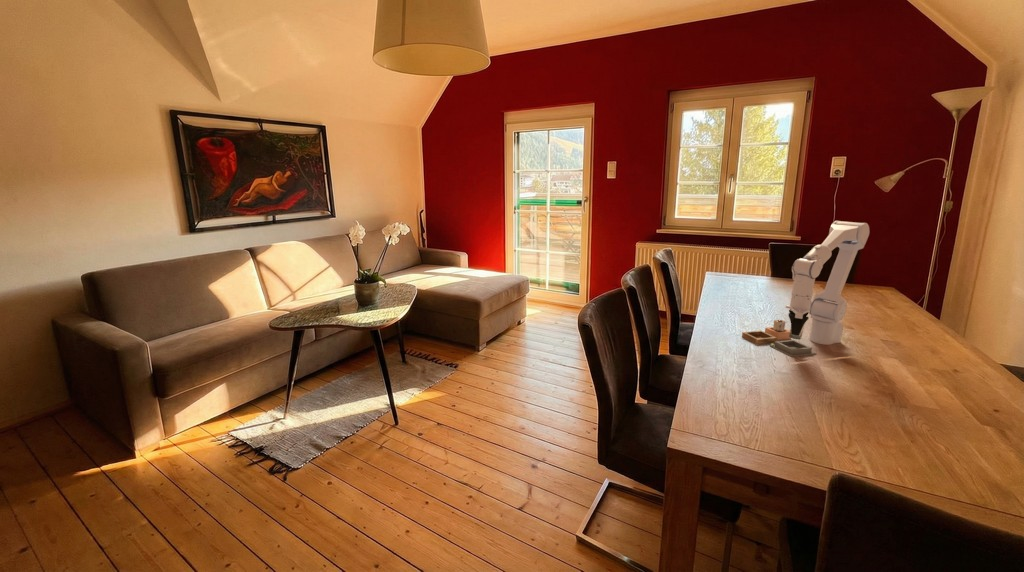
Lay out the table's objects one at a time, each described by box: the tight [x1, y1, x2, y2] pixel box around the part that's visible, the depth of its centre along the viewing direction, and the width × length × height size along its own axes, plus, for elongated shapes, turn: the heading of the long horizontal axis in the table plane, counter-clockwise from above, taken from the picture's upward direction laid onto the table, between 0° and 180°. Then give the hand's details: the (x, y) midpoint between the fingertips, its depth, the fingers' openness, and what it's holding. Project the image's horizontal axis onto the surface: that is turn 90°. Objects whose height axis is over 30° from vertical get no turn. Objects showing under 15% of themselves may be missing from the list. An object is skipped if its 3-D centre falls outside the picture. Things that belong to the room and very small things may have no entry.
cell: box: [789, 324, 805, 340], centre depth 148 cm, size 4×4×6 cm
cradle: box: [769, 339, 817, 358], centre depth 150 cm, size 10×10×3 cm
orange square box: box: [764, 326, 792, 341], centre depth 162 cm, size 6×6×3 cm
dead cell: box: [772, 319, 786, 332], centre depth 161 cm, size 4×4×6 cm
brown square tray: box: [741, 330, 778, 345], centre depth 159 cm, size 8×8×2 cm
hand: (795, 332), depth 148 cm, fingers closed on cell, 4 cm apart
